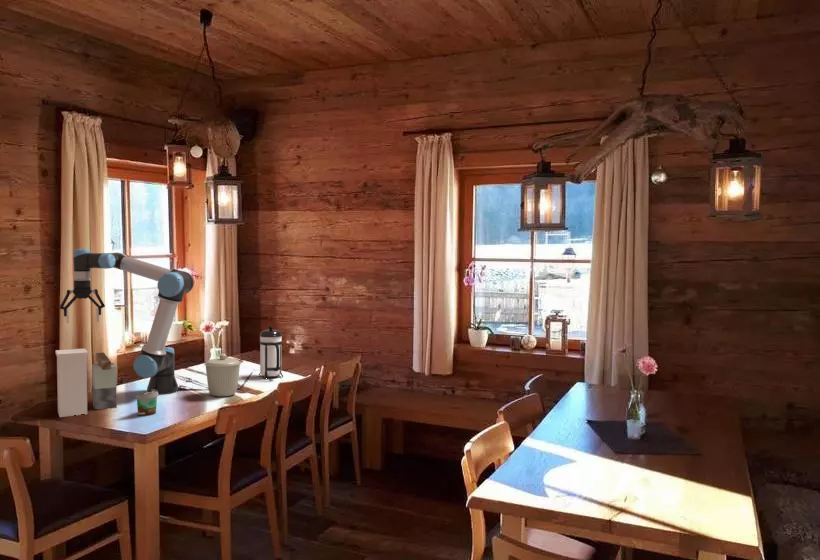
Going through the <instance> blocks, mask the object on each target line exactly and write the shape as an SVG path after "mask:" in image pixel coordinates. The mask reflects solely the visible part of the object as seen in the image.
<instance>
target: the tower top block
mask: <svg viewBox="0 0 820 560" xmlns="http://www.w3.org/2000/svg"><path fill="white" fill-rule="evenodd" d="M93 386H94V388H95V389H102V388H113V387H116V388H117V365H116V364H115V363H114V362H111V369H110V370H102V368H101V367H100V365H99V364H98V363H97V364H92V387H93Z"/></svg>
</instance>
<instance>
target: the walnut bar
mask: <svg viewBox="0 0 820 560" xmlns="http://www.w3.org/2000/svg"><path fill="white" fill-rule="evenodd" d="M95 360H96V363H97V364H99V365H100V367H101V368H102V370H110V369H111V363H112V361H111V359H109V357H108V356H107V354H106V353H105V352H96V353H95Z"/></svg>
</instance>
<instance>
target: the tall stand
mask: <svg viewBox="0 0 820 560" xmlns="http://www.w3.org/2000/svg"><path fill="white" fill-rule="evenodd" d="M55 356H56V377H57V378H56V380H57V383H56V384H57V390H56V391H57V414H58V416H59V418H65V417H74V415H76V416H82V415H81V414H85V415H88V376H87V375H88V369H87V366H88V365H87V364H88V363H87V362H88V361H87V360H88V359H87V356H89V352H88V350H87V349H86V348H72V349H71V348H70V349H59V350H58V349H56V350H55Z"/></svg>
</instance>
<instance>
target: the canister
mask: <svg viewBox="0 0 820 560" xmlns="http://www.w3.org/2000/svg"><path fill="white" fill-rule="evenodd" d="M241 364H242V361H241V360H238V359H237V358H232V357H227V354H225V353H220V354H219V356H218V357H217V358H213V359H208V360H207V361H206V362H205V361H204V366H205V371H206V372H205V373H206V381H207V389H208V392H209V394H210V395H211V396H213V397H220V398H221V397H223V398H225V397H230V396H233V395H235V394H236V393H237V390H238V385H239V375H240V367H241Z"/></svg>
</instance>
